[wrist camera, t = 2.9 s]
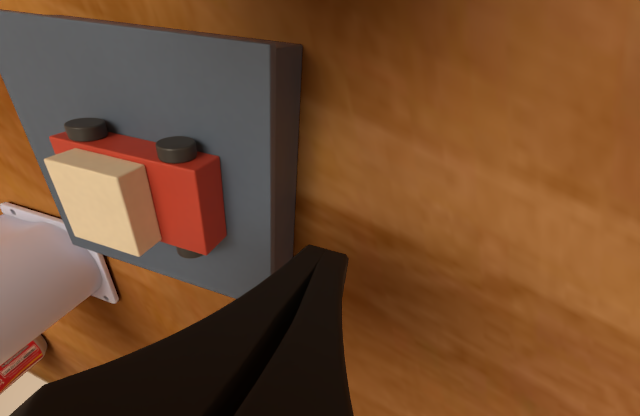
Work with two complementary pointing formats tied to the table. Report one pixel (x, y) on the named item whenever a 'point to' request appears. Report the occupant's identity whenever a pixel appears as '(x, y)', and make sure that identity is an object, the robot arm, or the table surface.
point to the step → (172, 123)
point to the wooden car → (137, 190)
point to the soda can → (21, 362)
